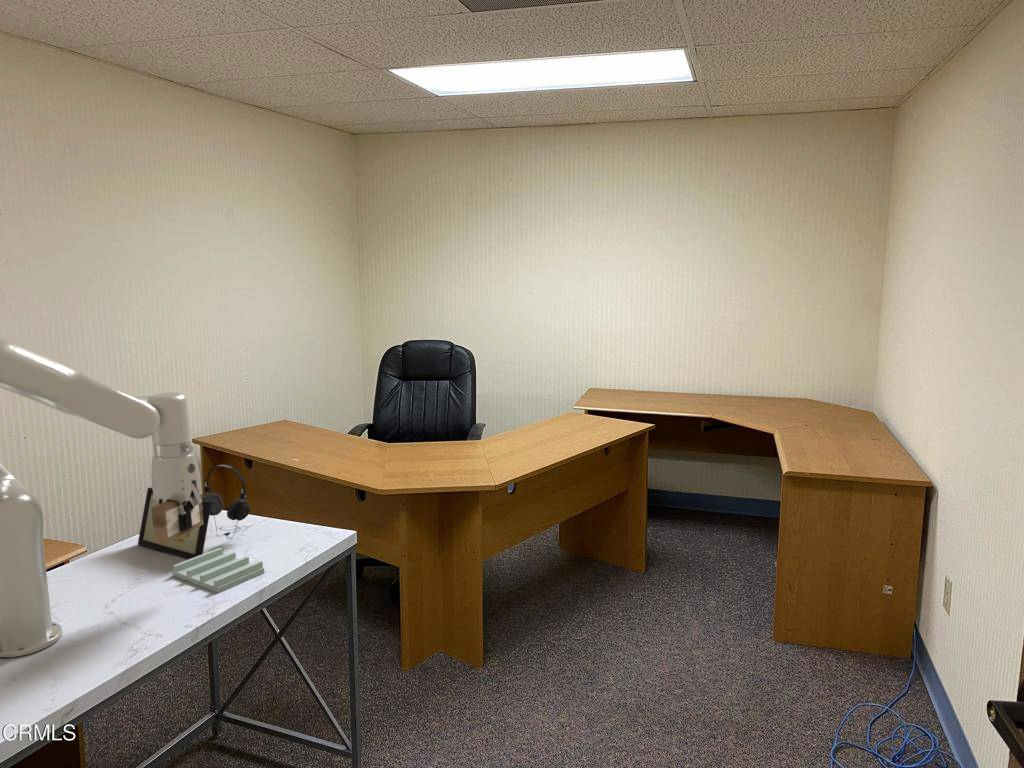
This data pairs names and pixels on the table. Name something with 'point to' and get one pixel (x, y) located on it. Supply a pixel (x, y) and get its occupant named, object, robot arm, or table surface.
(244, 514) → the headphones
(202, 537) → the picture frame
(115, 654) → the table surface
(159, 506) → the long brown rectangular block
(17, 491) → the robot arm
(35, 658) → the table surface
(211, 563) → the display rail
